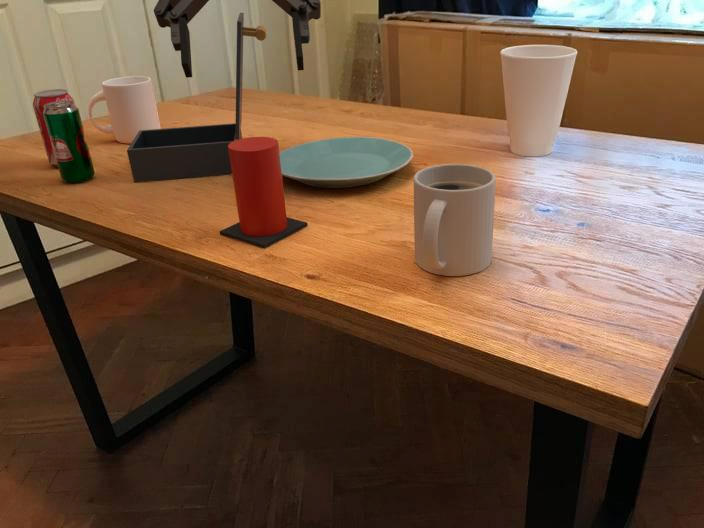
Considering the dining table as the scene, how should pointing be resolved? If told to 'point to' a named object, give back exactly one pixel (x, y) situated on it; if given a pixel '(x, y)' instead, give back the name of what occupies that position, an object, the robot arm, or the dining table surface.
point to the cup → (535, 95)
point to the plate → (344, 161)
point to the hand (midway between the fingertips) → (244, 67)
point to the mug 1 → (127, 107)
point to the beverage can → (38, 106)
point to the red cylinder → (258, 185)
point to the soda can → (68, 141)
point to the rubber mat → (263, 241)
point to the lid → (242, 31)
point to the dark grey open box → (181, 152)
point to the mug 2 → (454, 218)
